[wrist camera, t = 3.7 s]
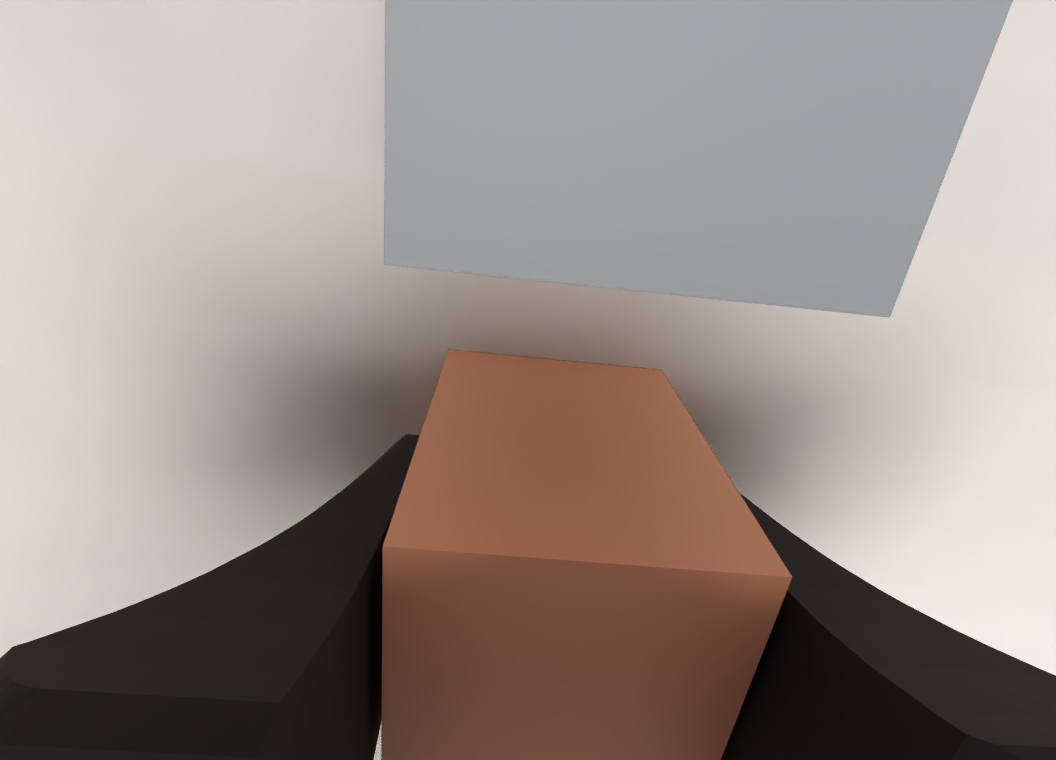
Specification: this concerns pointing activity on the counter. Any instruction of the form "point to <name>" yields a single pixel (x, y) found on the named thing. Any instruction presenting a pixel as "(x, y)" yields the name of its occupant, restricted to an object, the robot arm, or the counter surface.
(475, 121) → the slate block
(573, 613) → the terracotta block
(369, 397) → the counter surface
